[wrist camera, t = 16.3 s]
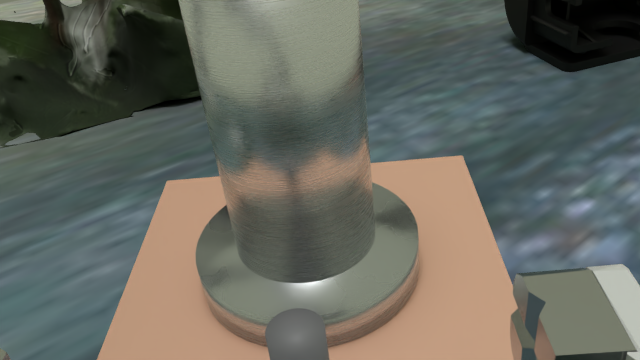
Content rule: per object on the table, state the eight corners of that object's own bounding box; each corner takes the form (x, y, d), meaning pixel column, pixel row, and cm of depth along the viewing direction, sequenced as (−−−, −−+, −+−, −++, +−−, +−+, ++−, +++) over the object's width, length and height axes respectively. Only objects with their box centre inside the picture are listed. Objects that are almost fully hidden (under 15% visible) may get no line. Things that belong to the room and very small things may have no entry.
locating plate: (79, 478, 18) (23, 378, 16) (174, 206, 30) (151, 125, 27) (557, 450, 17) (577, 340, 15) (461, 182, 29) (463, 96, 27)
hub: (185, 358, 20) (58, -16, 13) (220, 212, 26) (148, -84, 20) (434, 341, 19) (432, -57, 13) (405, 196, 26) (394, -114, 19)
